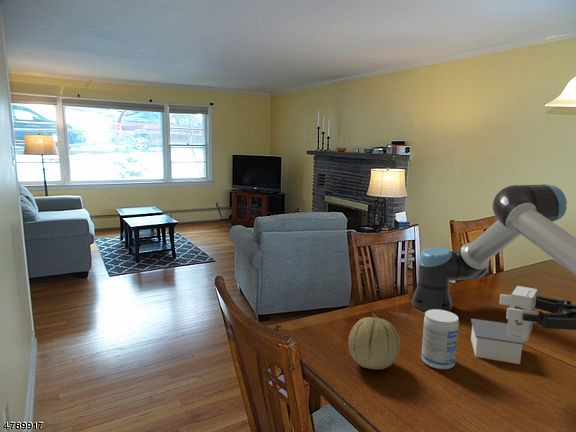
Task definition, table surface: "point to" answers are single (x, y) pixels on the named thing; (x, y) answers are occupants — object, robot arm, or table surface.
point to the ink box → (524, 301)
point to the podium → (495, 342)
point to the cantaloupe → (374, 343)
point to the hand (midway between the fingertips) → (503, 305)
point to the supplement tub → (440, 338)
